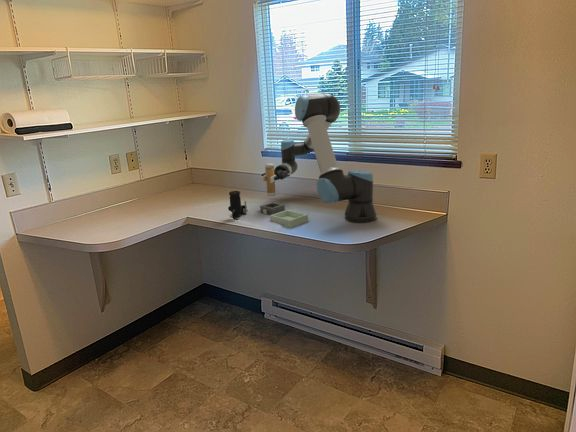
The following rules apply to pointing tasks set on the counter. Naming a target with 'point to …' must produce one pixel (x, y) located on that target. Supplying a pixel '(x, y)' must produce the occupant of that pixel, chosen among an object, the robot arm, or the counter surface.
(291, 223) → the parts tray
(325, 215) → the counter surface
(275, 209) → the socket block
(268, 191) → the cylinder
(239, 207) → the scope
